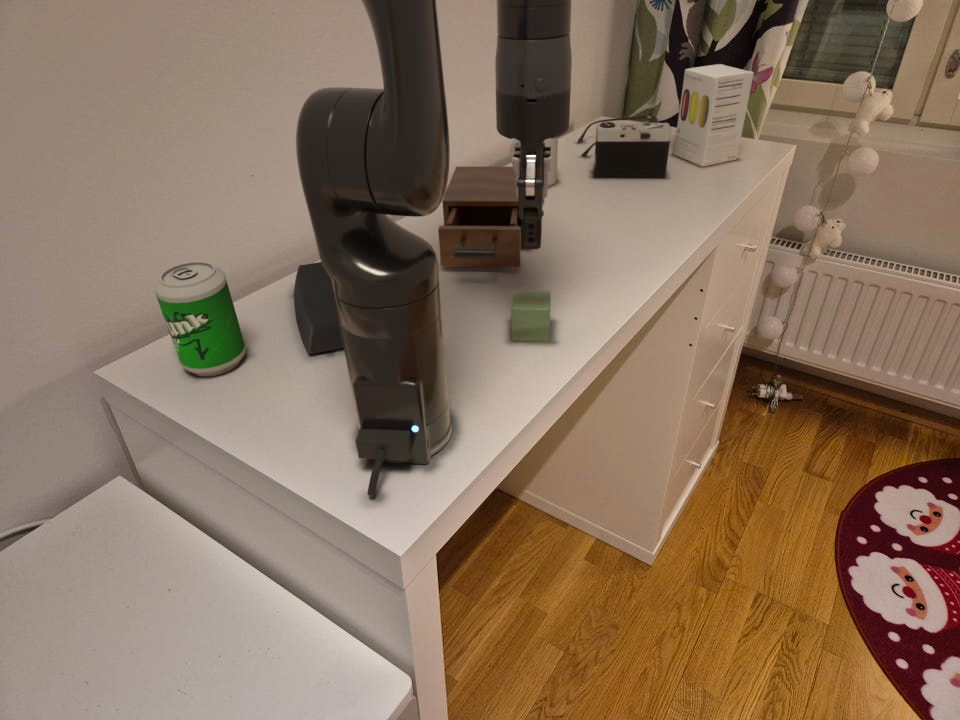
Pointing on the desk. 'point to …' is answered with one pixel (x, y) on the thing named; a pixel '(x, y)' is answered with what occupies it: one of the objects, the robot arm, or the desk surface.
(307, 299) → the hard drive
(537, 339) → the block
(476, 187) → the cabinet
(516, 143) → the cup
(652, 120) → the sunglasses
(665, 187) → the desk surface
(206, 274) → the soda can
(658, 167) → the camera
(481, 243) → the drawer
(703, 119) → the supplement box
